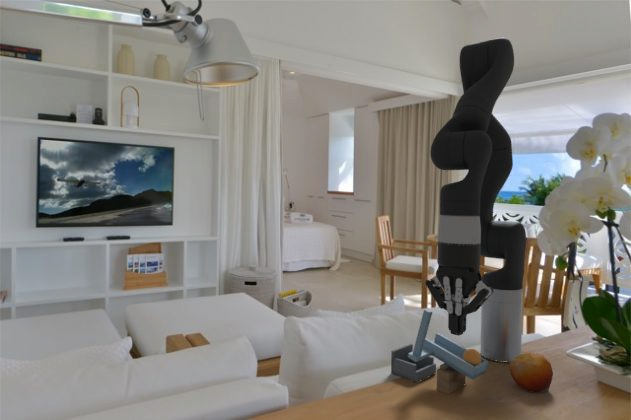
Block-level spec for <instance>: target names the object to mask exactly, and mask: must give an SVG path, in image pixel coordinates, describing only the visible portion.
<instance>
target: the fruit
mask: <svg viewBox="0 0 631 420" xmlns="http://www.w3.org/2000/svg"><path fill="white" fill-rule="evenodd" d="M508 370H509V374H510V375H511V378H512V379H513V381H514V382H515V383H516V385H517V387H518V386H519V387H520V388H521V389H522V390H524V391H526V392H528V393H529V392H530V393H542V392H547V393H549V391H550V390H549V389H550V387H551V385H552V380H553V376H554V372H553V368H552V364H551V362H550V361H549V360H548V359H547V358H546V357H545V356H544V355H541V354H539V353H535V352H528V353H527V352H525V353H521V355H519V356H517V357H516V358H515V359H513V360H512V361H511V363H509V365H508Z"/></svg>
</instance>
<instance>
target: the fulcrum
mask: <svg viewBox="0 0 631 420" xmlns="http://www.w3.org/2000/svg"><path fill="white" fill-rule="evenodd" d="M439 366H440V367H439V369H436V390H437V389H438V390H437V391H439V390H440V391H439V392H442V391H443V392H442V393H444V394H447V395H449V394H450V393H453V392H454V391H456V390H458V389H460V388H462V387H463V386H465V385H466V382H467V381H466V380H467V379H466V378H467V376H465V375H463V374H462V373H460V372H458V371H457V370H455V369H454V368H452V367H450V366H449V365H447V364H445V363H444V362H443V363H441V364H440V365H439ZM464 384H465V385H464ZM462 385H463V386H462ZM459 387H460V388H459Z"/></svg>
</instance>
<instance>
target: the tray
mask: <svg viewBox="0 0 631 420" xmlns="http://www.w3.org/2000/svg"><path fill="white" fill-rule="evenodd" d="M413 350H414V345H413V343H409V344H405V345H404V346H401V347H399V348H398V347H397V348H395V349H392V350H391V352H390V353H391V360H390V361H391V362H390V363H391V366H390V373H391V375H393V376H397V377H399V378H403V379H405V378H407V379H406V380H408V379H410V380H409V381H411V380H413V381H415V382H414V383H416V382H418V383H420V382H421V381H420V380H422V381H424V380H426V379H428V378H429V377H428V376H430V375H432V374H434V373H436V374H437V363H435V362H434V361H435V359H434V358H435V357H434V356H432V355H431V356H429V357H426V358H424V359H422V360H419V361H417V362H415V361H413V360H412V359H410V358H409V357H408V353H410V352H413ZM434 375H435V374H434ZM432 376H433V375H432ZM427 377H428V378H427ZM430 377H431V376H430ZM425 378H426V379H425ZM423 379H424V380H423ZM413 381H412V382H413ZM419 381H420V382H419Z"/></svg>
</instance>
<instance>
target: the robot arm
mask: <svg viewBox="0 0 631 420" xmlns="http://www.w3.org/2000/svg"><path fill="white" fill-rule="evenodd" d="M513 47H514V46H513V44H512V42H511V41H510V39H509V38H506V37H496V38H490V39H486V40H483V41H478V42H474V43H470V44H465V45H464V46H463V47H462V48H461V49H460V52H459V72H460V78H461V84H462V85H461V86H462V91H463V94H462V95H461V96H460V97H459V99H458V101H457V103H456V105H455V108H454V111H453V114H452V117H451V118H449V120H448V121H447V122H446V123H445V124H444V125H443V126H442V127H441V129H440V130H439V131H438V132H437V133H436V135H435V137H434V138H433V140H432V143H431V146H430V151H429V153H430V154H429V155H430V159H431V161H432V164H433V165H434V167H436V168H437V169H439V170H441V171H464V170H466V171H467V172H466V173H467V174H466V175H465V177H464V178H462V179H461V180H458V181H455V182H450V183H447V184H444V185H442V187H441V189H440V192H439V193H440V194H439V197H440V198H439V220H438V225H437V254H436V255H437V256H436V257H437V258H436V259H437V260H436V261H437V262H436V263H437V266H438V267H437V269H436V271H435V275H434V276H433V277H432V278H431V279H427V280H425V286H426V287H427V289H428V291H429V293H430V294H431V296H432V298H433V299H434V300H435V302H436V304H437V306H438V308H439V309H441V310H442V309H443V310H445V311H446V312H447V315H448V320H447V321H448V322H447V324H448V325H447V328H448V331H450V334H452V335H454V336H461V335H464V333H465V332H466V331H467V316H468V315H470V314H473V313H475V312H477V311H478V310H479V309H480V308H481V309H480V310H481V311H480V352H479V353H480V355H481V357H483V356H484V357H483V358H485V357H486V358H485V359H487V358H488V359H487V360H489V359H492V360H491V361H493V360H497V361H507V362H511V361H512V360H513V359H515V358H516V357H517V356H519V355H521V354H522V342H523V341H522V338H523V337H522V335H523V332H522V331H523V290H524V289H523V287H524V285H523V284H524V276H525V261H526V260H525V259H526V258H525V257H526V246H527V233H526V229H525V226H524V225H523V224H522V223H521V222H519V221H512V220H511V221H505V220H494V206H495V203H496V201H497V200H496V199H497V197H498V195H499V193H500V192H501V190H502V189H503V187H504V186H505V184H506V182H507V180H508V178H509V177H510V174H511V173H512V170H513V166H514V165H513V164H514V163H513V161H514V159H513V149H512V148H513V147H512V144H513V143H512V138H511V136H510V134H509V133H508V131H507V130H506V129H505V127H504V126H503V125H502V123H501V122H500V121H499V119H497V118H496V116H495V115H494V114H493V110H494V107H495V106H496V103H497V100H498V99H499V97H500V96H501V95H502V92H503V91H504V89H505V87H506V85H507V84H508V82H509V80H510V79H511V76H512V74H513V71H514V66H515V54H514V49H513ZM481 257H485V258H488V259H489V258H490V259H498V260H499V259H500V260H505V261H504V265H503V266H502V267H500V268H498V269H497V270H492V271H487V272H485V273H483V274H482V275H481V272H480V267H481ZM474 292H475V294H476V295H475V296H474V297H473V298H472V300H471V296H472V294H473V293H474ZM497 361H496V362H497Z"/></svg>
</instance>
